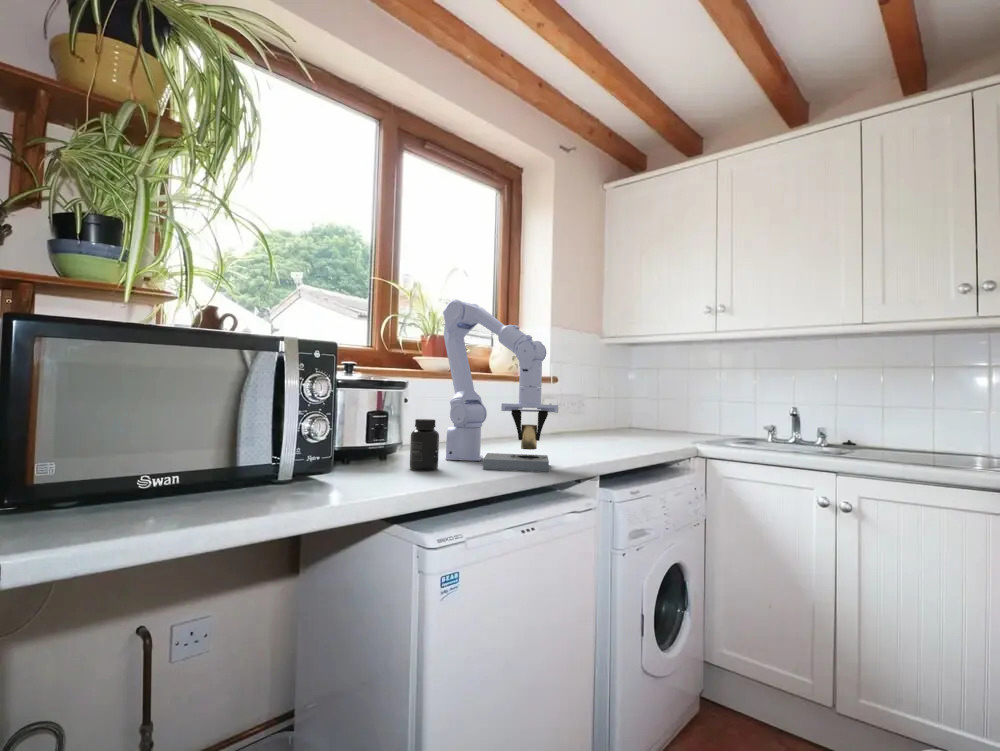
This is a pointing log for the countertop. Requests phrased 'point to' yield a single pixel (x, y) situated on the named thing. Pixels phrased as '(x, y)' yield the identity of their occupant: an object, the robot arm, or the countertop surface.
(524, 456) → the jig
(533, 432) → the bushing
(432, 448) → the supplement bottle
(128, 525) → the countertop surface
